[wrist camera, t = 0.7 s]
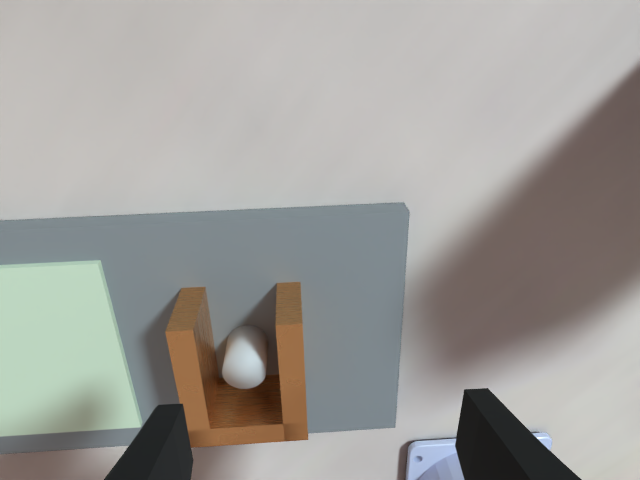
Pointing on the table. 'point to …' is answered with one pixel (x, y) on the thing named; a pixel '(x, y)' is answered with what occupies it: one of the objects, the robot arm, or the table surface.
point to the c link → (225, 400)
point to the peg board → (224, 307)
